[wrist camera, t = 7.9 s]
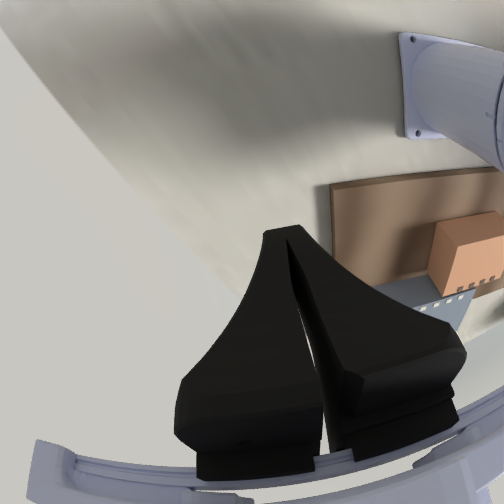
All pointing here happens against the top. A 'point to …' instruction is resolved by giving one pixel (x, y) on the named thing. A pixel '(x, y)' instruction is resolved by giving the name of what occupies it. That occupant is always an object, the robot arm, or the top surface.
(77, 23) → the top surface
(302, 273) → the robot arm
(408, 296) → the block
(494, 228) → the tan rectangular block
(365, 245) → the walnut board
